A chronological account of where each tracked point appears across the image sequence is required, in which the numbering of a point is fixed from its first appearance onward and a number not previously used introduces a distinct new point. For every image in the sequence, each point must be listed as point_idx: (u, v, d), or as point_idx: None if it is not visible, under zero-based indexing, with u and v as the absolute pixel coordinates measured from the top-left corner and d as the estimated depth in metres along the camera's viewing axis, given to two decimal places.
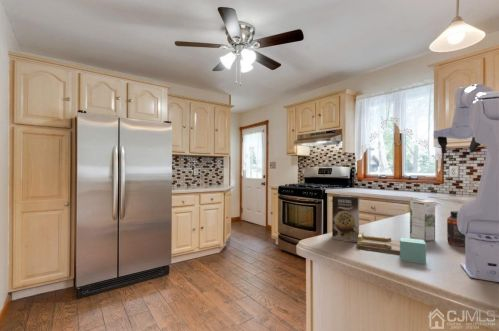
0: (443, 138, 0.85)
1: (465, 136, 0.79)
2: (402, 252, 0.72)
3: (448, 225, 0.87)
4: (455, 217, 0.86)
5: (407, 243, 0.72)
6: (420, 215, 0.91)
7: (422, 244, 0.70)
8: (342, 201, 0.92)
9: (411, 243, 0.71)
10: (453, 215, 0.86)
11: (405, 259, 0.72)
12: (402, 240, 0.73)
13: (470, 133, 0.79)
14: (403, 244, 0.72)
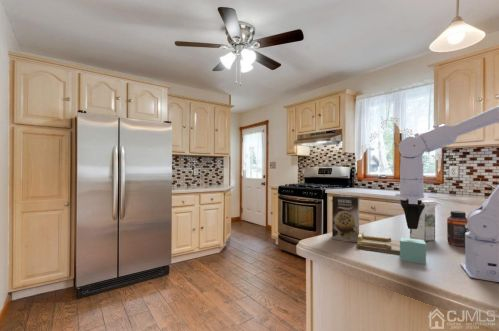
0: None
1: None
2: (402, 252, 0.72)
3: (448, 225, 0.87)
4: (455, 217, 0.86)
5: (407, 243, 0.72)
6: (420, 215, 0.91)
7: (422, 244, 0.70)
8: (342, 201, 0.92)
9: (411, 243, 0.71)
10: (453, 215, 0.86)
11: (405, 259, 0.72)
12: (402, 240, 0.73)
13: None
14: (403, 244, 0.72)
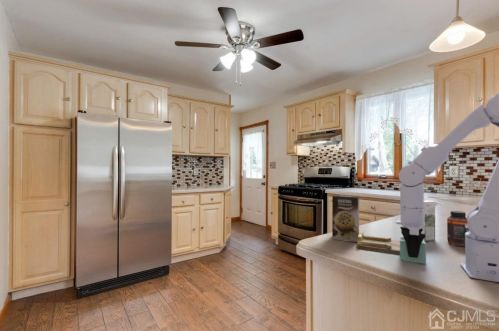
0: None
1: None
2: (402, 252, 0.72)
3: (448, 225, 0.87)
4: (455, 217, 0.86)
5: None
6: None
7: (422, 244, 0.70)
8: (342, 201, 0.92)
9: None
10: (453, 215, 0.86)
11: (405, 259, 0.72)
12: (402, 240, 0.73)
13: None
14: (403, 244, 0.72)
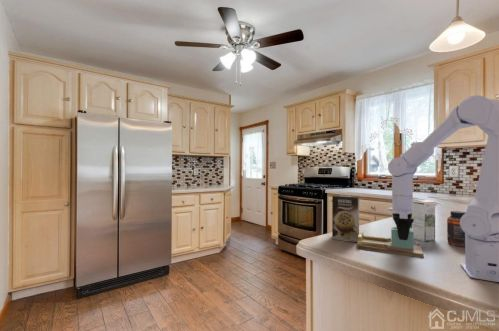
0: None
1: None
2: (392, 239, 0.81)
3: (448, 225, 0.87)
4: (455, 217, 0.86)
5: (397, 231, 0.81)
6: (420, 215, 0.91)
7: (410, 232, 0.79)
8: (342, 201, 0.92)
9: None
10: (453, 215, 0.86)
11: (395, 245, 0.81)
12: (393, 229, 0.82)
13: None
14: (393, 232, 0.81)
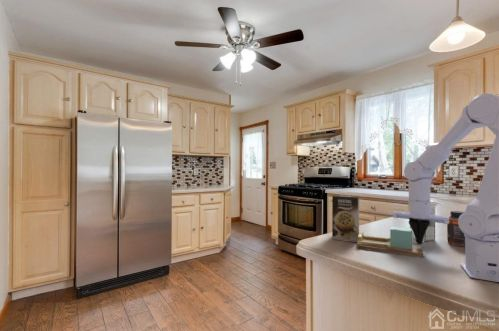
0: None
1: None
2: (391, 239, 0.81)
3: (448, 225, 0.87)
4: (455, 217, 0.86)
5: (396, 231, 0.81)
6: None
7: (409, 232, 0.79)
8: (342, 201, 0.92)
9: (399, 231, 0.80)
10: (453, 215, 0.86)
11: (394, 245, 0.81)
12: (392, 228, 0.82)
13: None
14: (392, 232, 0.81)
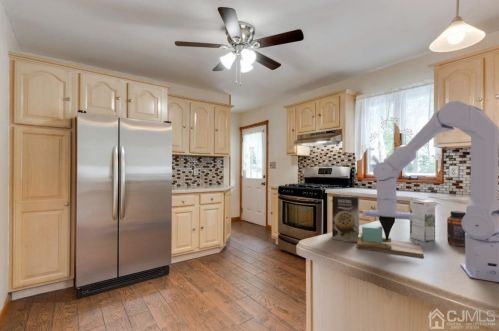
0: None
1: None
2: (363, 236, 0.85)
3: (448, 225, 0.87)
4: (455, 217, 0.86)
5: (367, 229, 0.84)
6: (420, 215, 0.91)
7: (379, 229, 0.83)
8: (342, 201, 0.92)
9: (371, 228, 0.84)
10: (453, 215, 0.86)
11: None
12: (364, 226, 0.85)
13: None
14: (364, 229, 0.84)
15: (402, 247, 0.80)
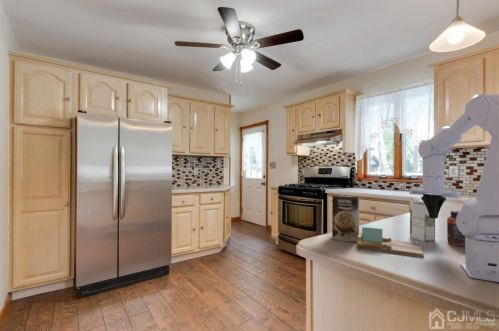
0: None
1: None
2: (363, 236, 0.85)
3: (448, 225, 0.87)
4: (455, 217, 0.86)
5: (367, 229, 0.84)
6: (420, 215, 0.91)
7: (379, 229, 0.83)
8: (342, 201, 0.92)
9: (371, 228, 0.84)
10: (453, 215, 0.86)
11: None
12: (364, 226, 0.85)
13: None
14: (364, 229, 0.84)
15: (402, 247, 0.80)
